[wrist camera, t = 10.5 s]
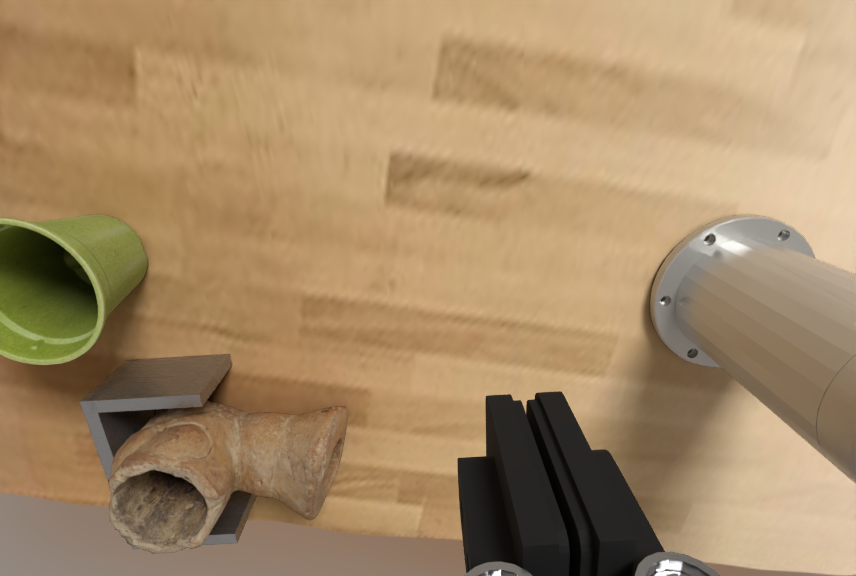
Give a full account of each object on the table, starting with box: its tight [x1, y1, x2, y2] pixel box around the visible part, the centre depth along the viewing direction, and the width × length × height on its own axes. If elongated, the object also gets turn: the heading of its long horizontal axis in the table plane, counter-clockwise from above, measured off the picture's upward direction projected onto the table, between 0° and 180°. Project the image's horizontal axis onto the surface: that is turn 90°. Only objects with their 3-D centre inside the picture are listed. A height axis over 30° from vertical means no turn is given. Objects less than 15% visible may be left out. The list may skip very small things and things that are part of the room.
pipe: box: [108, 400, 348, 553], centre depth 38 cm, size 9×16×10 cm, turn 87°
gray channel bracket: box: [80, 354, 257, 549], centre depth 40 cm, size 8×14×6 cm, turn 3°
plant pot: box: [0, 215, 148, 365], centre depth 33 cm, size 9×9×9 cm
